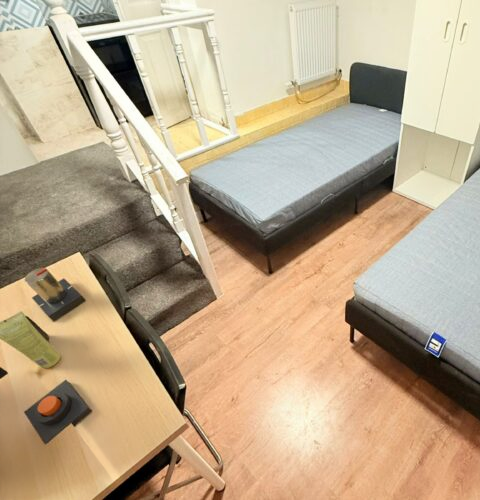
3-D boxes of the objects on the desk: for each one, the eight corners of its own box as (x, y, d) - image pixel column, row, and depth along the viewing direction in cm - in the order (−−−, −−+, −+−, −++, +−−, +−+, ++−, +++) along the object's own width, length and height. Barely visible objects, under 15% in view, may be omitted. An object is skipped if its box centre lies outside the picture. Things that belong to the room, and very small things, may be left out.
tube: (49, 349, 96) (2, 309, 82) (66, 350, 95) (21, 310, 82) (36, 368, 92) (-16, 329, 78) (53, 369, 91) (3, 330, 78)
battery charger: (34, 339, 98) (8, 317, 90) (49, 334, 99) (24, 312, 91) (32, 359, 94) (4, 338, 86) (47, 353, 95) (21, 331, 87)
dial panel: (37, 303, 108) (30, 297, 106) (69, 283, 114) (63, 277, 111) (53, 322, 102) (47, 316, 100) (86, 300, 108) (81, 294, 106)
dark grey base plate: (29, 414, 83) (18, 408, 80) (70, 382, 88) (61, 376, 86) (50, 447, 78) (39, 441, 75) (92, 410, 83) (83, 404, 80)
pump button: (39, 409, 80) (34, 405, 79) (57, 395, 83) (52, 392, 81) (47, 419, 79) (41, 416, 77) (64, 405, 81) (59, 402, 79)
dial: (50, 306, 103) (29, 285, 96) (42, 298, 105) (20, 276, 98) (70, 294, 106) (50, 272, 99) (61, 285, 109) (41, 264, 102)
